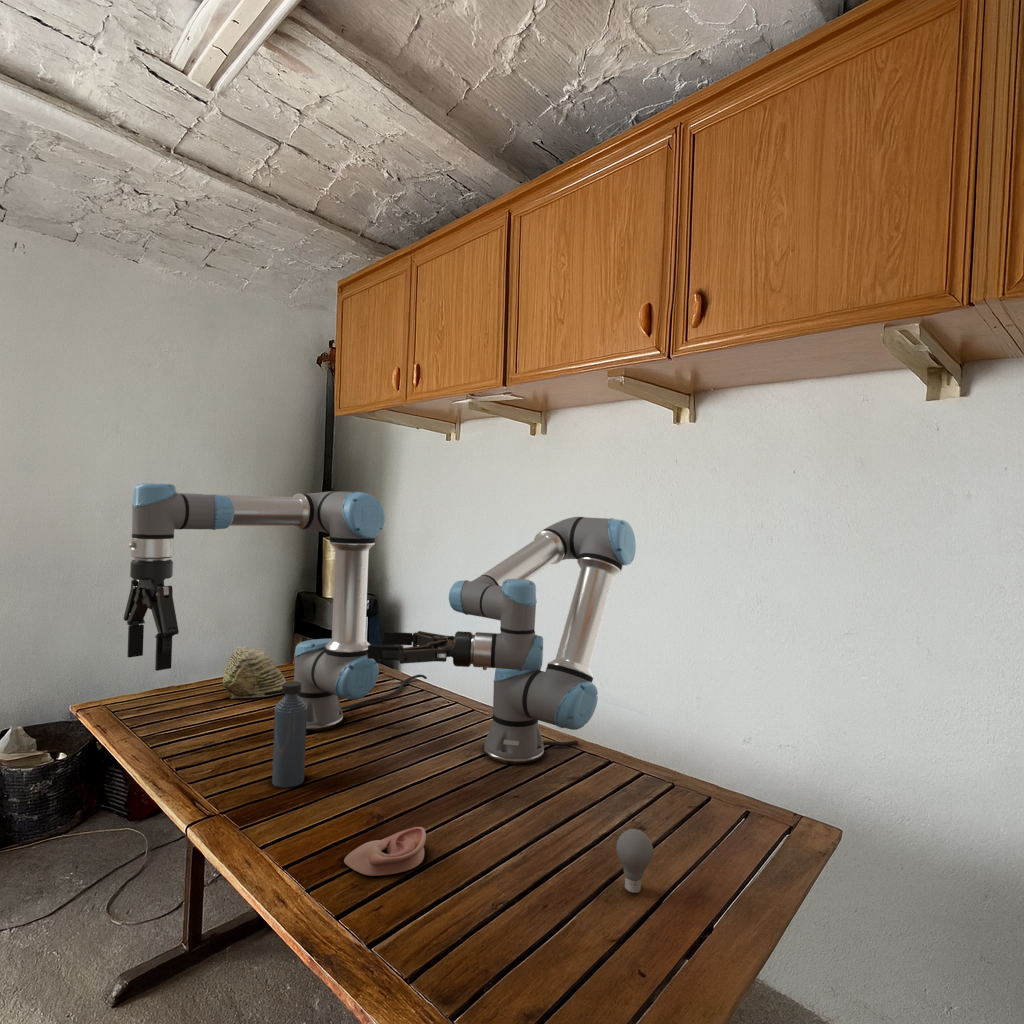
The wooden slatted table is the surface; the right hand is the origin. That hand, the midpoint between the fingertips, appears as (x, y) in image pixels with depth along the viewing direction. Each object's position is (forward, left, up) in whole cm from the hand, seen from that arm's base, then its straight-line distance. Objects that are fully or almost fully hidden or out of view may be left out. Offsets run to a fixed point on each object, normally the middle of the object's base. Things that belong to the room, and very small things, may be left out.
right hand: (376, 644), depth 139 cm
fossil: (+23, -73, -31) cm, 83 cm away
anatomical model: (+3, +29, -31) cm, 43 cm away
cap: (+17, -8, -10) cm, 21 cm away
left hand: (+45, -8, -3) cm, 45 cm away
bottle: (+17, -8, -31) cm, 36 cm away
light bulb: (-34, +51, -31) cm, 69 cm away
